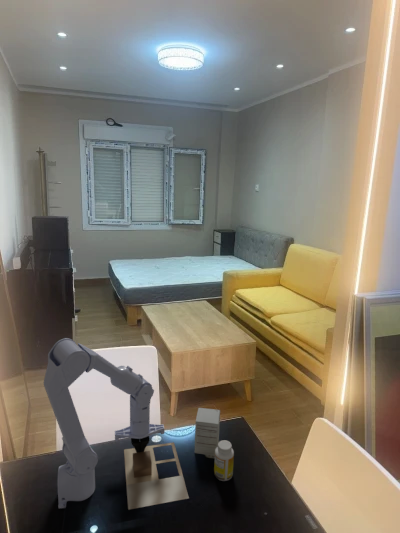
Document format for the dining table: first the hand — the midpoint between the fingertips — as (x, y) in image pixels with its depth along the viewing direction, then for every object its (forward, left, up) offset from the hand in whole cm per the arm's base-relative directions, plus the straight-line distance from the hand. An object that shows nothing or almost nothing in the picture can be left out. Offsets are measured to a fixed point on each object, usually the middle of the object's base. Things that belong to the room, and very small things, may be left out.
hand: (139, 456), depth 109 cm
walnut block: (0, -4, -1) cm, 4 cm away
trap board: (+4, -6, -2) cm, 7 cm away
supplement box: (+22, +1, -3) cm, 22 cm away
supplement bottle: (+24, -10, -3) cm, 26 cm away
